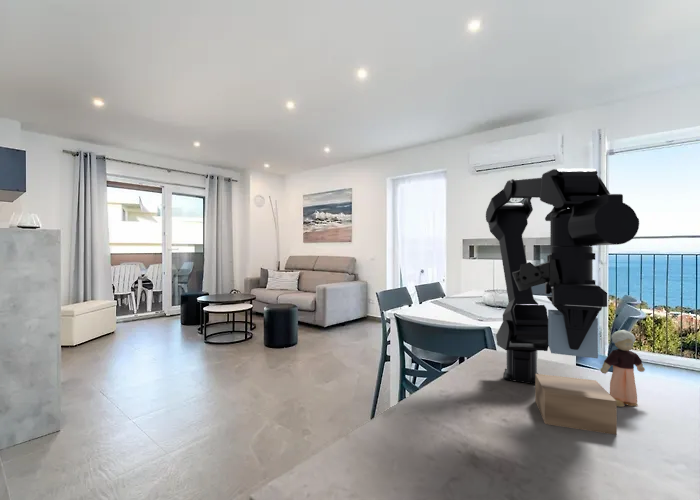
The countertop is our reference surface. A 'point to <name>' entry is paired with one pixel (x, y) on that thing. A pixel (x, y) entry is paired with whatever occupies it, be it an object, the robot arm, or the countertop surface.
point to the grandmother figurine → (623, 369)
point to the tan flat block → (575, 403)
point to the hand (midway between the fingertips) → (571, 344)
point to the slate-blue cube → (560, 340)
